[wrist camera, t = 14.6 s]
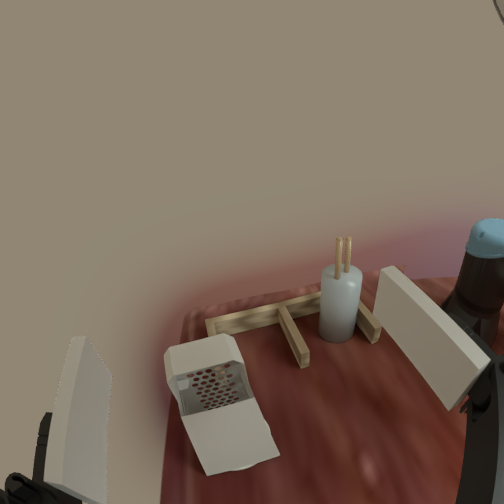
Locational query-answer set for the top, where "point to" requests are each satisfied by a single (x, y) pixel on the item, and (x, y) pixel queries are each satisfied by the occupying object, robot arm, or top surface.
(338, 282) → the utensil crock
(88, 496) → the robot arm
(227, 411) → the grater
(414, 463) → the top surface
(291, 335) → the rack
